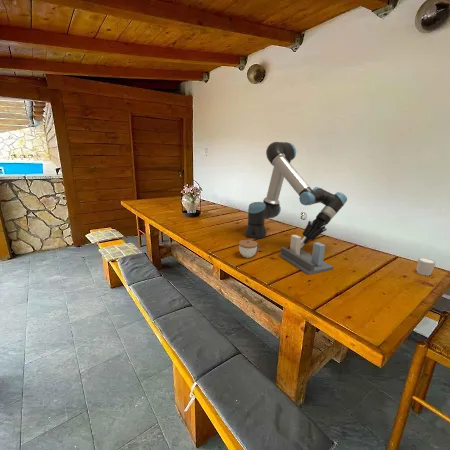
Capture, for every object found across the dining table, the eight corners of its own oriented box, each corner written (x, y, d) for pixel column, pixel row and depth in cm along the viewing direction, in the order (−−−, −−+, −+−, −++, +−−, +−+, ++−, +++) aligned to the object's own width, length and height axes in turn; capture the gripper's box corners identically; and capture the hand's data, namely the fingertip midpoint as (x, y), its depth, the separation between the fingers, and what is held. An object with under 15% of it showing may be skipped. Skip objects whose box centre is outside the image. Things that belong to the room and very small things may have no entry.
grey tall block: (311, 262, 129) (313, 242, 126) (315, 261, 130) (318, 242, 127) (317, 266, 124) (320, 246, 121) (322, 265, 125) (325, 245, 122)
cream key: (289, 253, 140) (291, 235, 137) (293, 252, 141) (295, 234, 138) (295, 256, 135) (297, 238, 132) (299, 255, 137) (301, 237, 133)
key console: (278, 255, 141) (279, 247, 140) (301, 251, 147) (302, 243, 146) (308, 274, 119) (309, 265, 118) (333, 269, 125) (334, 260, 124)
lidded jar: (241, 260, 134) (242, 244, 132) (236, 252, 144) (236, 237, 142) (259, 258, 137) (260, 242, 134) (252, 251, 147) (253, 236, 144)
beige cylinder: (415, 268, 127) (418, 256, 125) (432, 272, 123) (435, 260, 121) (414, 273, 122) (417, 260, 120) (432, 277, 118) (435, 264, 116)
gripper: (337, 222, 135) (310, 254, 134) (320, 217, 147) (295, 246, 145) (331, 214, 132) (303, 247, 130) (314, 209, 143) (288, 239, 142)
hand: (299, 246), depth 138 cm, fingers closed
